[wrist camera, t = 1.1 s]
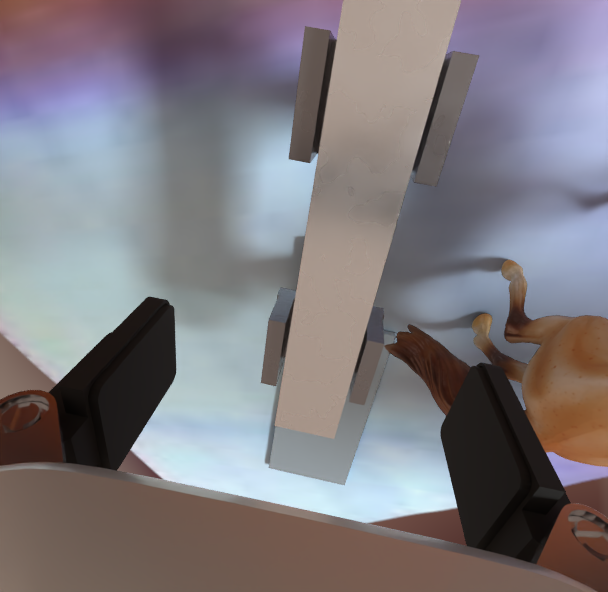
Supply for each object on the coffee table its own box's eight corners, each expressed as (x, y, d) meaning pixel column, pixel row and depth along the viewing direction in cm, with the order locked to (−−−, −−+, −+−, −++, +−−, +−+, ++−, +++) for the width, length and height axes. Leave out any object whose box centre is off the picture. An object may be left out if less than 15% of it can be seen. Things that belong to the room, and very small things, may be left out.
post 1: (380, 250, 32) (388, 337, 21) (364, 308, 35) (363, 411, 24) (301, 235, 32) (267, 312, 21) (292, 293, 35) (258, 388, 24)
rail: (449, -15, 16) (474, -45, 12) (338, 395, 28) (334, 439, 24) (356, -30, 16) (353, -63, 12) (285, 383, 28) (274, 425, 24)
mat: (395, 332, 36) (395, 336, 35) (344, 480, 48) (344, 485, 47) (294, 311, 36) (293, 315, 36) (269, 463, 48) (268, 467, 48)
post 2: (432, 62, 25) (487, 40, 14) (407, 154, 28) (434, 198, 17) (331, 45, 25) (304, 10, 14) (316, 138, 28) (285, 169, 17)
